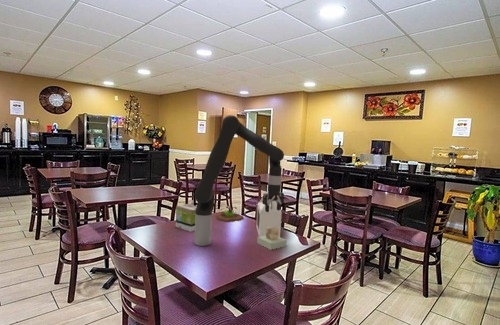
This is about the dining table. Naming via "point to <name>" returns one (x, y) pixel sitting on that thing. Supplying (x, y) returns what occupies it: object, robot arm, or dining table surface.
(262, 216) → the gable box
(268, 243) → the sage plinth
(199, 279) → the dining table surface
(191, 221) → the tea box
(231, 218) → the plant
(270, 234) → the maple block
